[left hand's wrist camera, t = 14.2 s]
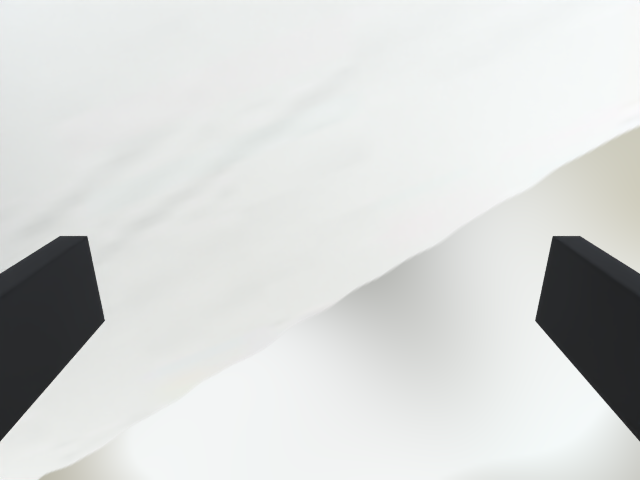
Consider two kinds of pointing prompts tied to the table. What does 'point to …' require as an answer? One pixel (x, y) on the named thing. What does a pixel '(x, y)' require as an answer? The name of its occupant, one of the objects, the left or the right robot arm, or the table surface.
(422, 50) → the table surface
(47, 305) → the left robot arm
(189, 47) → the table surface
